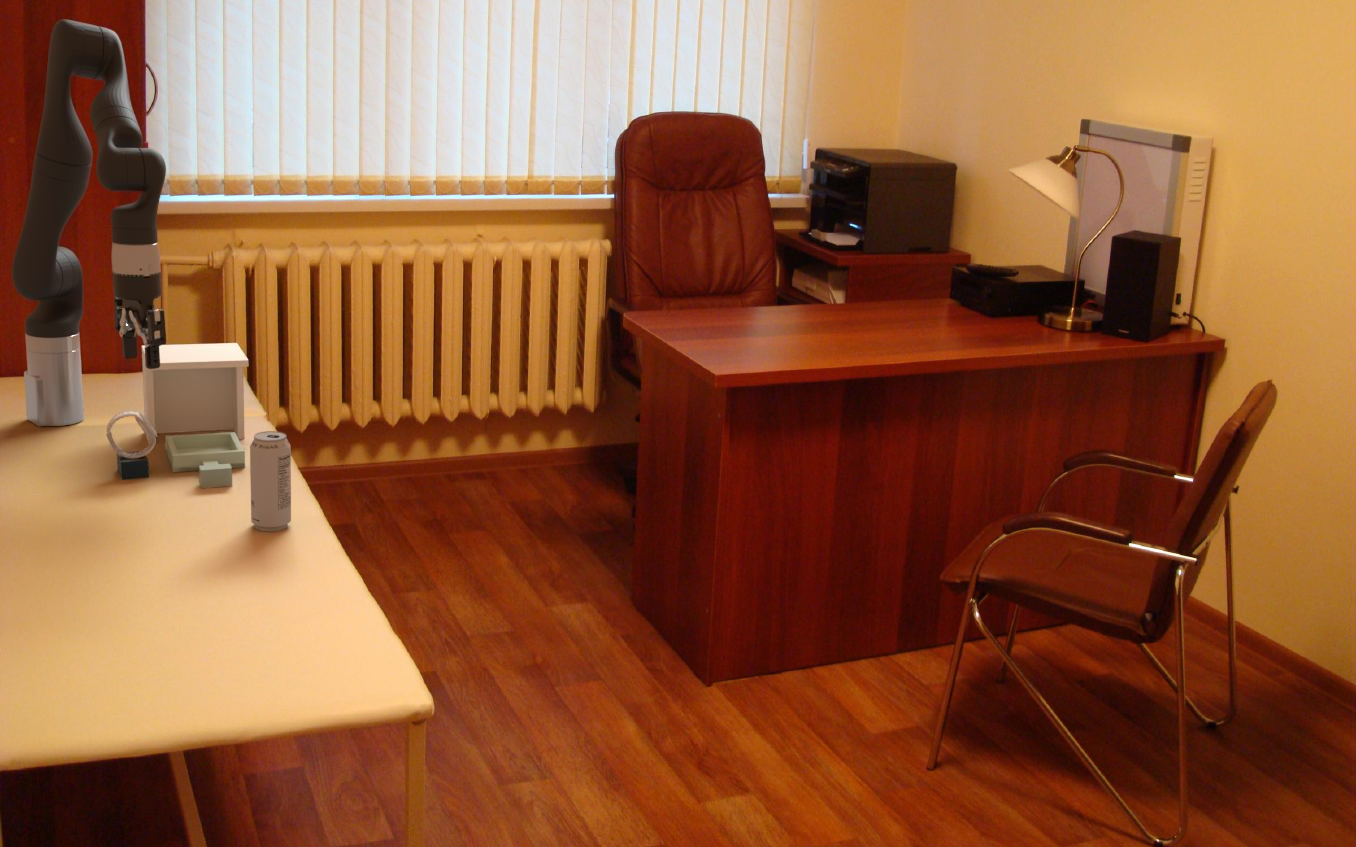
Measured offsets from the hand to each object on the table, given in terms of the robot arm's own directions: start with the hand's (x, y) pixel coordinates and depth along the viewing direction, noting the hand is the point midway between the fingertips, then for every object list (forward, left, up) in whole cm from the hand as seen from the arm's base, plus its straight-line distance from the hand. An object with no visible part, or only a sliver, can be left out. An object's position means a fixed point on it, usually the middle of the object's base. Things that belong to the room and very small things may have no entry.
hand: (141, 363), depth 218 cm
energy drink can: (+4, -36, -19) cm, 41 cm away
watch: (-3, -1, -19) cm, 20 cm away
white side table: (+14, +11, -19) cm, 26 cm away
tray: (+9, -5, -19) cm, 22 cm away
